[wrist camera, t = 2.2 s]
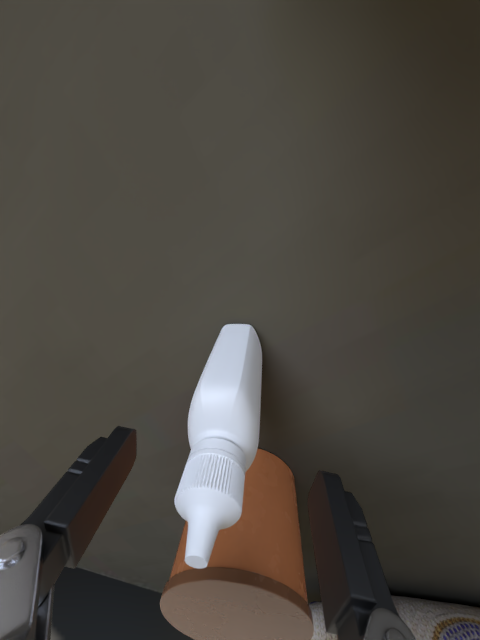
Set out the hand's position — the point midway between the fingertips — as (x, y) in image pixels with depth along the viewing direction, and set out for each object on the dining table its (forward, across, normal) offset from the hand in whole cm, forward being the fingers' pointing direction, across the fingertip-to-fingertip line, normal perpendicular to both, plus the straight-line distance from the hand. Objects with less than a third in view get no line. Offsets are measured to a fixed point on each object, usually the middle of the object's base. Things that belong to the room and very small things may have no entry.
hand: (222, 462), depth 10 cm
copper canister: (+9, -3, +14) cm, 16 cm away
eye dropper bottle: (+9, 0, 0) cm, 9 cm away
